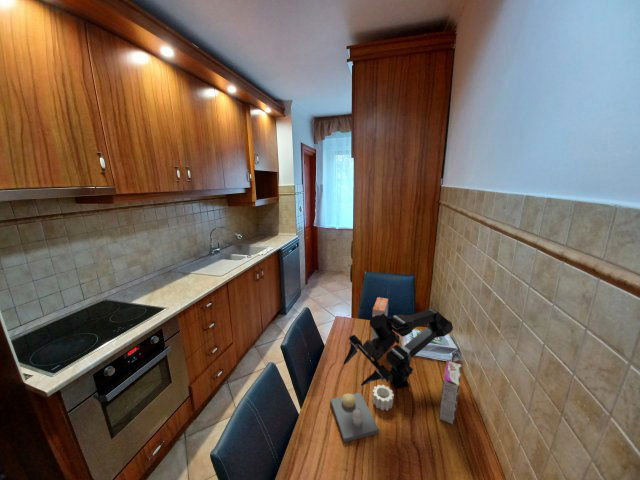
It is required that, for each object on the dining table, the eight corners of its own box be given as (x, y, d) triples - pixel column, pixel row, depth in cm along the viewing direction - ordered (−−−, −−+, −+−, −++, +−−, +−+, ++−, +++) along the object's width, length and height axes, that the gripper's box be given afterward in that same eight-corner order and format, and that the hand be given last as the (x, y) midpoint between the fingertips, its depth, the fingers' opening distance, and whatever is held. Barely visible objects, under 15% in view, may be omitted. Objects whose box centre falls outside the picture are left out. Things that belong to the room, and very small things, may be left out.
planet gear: (386, 391, 97) (387, 382, 96) (396, 408, 90) (397, 398, 89) (368, 395, 95) (369, 386, 94) (378, 412, 88) (378, 403, 87)
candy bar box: (441, 395, 95) (446, 359, 91) (456, 401, 92) (462, 364, 89) (437, 418, 86) (443, 379, 82) (453, 426, 83) (460, 385, 79)
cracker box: (375, 331, 136) (377, 296, 131) (386, 333, 134) (389, 298, 129) (370, 346, 123) (372, 308, 118) (382, 349, 121) (384, 311, 116)
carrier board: (360, 395, 95) (360, 381, 94) (378, 433, 81) (379, 417, 79) (330, 402, 92) (330, 387, 91) (344, 442, 78) (344, 426, 77)
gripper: (361, 318, 93) (330, 347, 89) (401, 357, 81) (367, 393, 77) (365, 328, 101) (337, 356, 97) (402, 365, 89) (372, 398, 85)
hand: (352, 374), depth 89 cm, fingers open, 9 cm apart
